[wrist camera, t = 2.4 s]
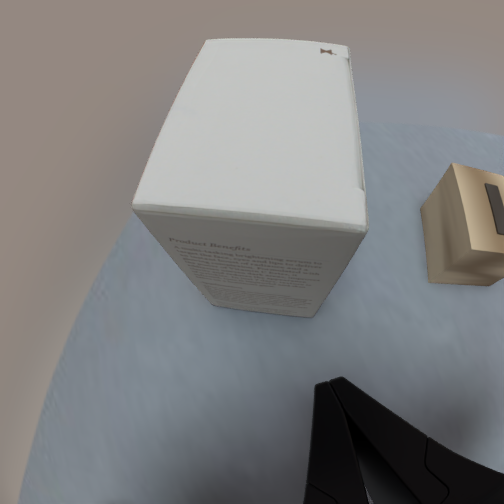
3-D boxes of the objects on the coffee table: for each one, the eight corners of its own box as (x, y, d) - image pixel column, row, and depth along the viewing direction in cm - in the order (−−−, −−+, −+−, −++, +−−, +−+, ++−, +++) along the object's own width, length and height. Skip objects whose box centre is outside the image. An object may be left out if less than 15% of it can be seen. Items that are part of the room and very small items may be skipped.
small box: (234, 183, 19) (204, 35, 10) (323, 191, 19) (350, 41, 9) (209, 308, 16) (120, 206, 7) (314, 321, 16) (373, 229, 6)
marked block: (477, 216, 17) (514, 176, 13) (488, 286, 15) (536, 256, 11) (419, 207, 18) (452, 159, 13) (428, 283, 16) (473, 248, 11)
